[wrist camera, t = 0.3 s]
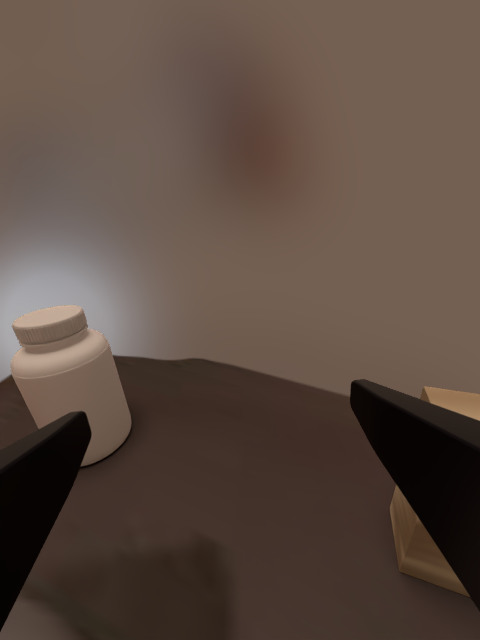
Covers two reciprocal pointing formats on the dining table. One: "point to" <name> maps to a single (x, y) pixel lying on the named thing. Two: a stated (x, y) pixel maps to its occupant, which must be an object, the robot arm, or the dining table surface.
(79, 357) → the pill bottle
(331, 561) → the dining table surface
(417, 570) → the birch finger
